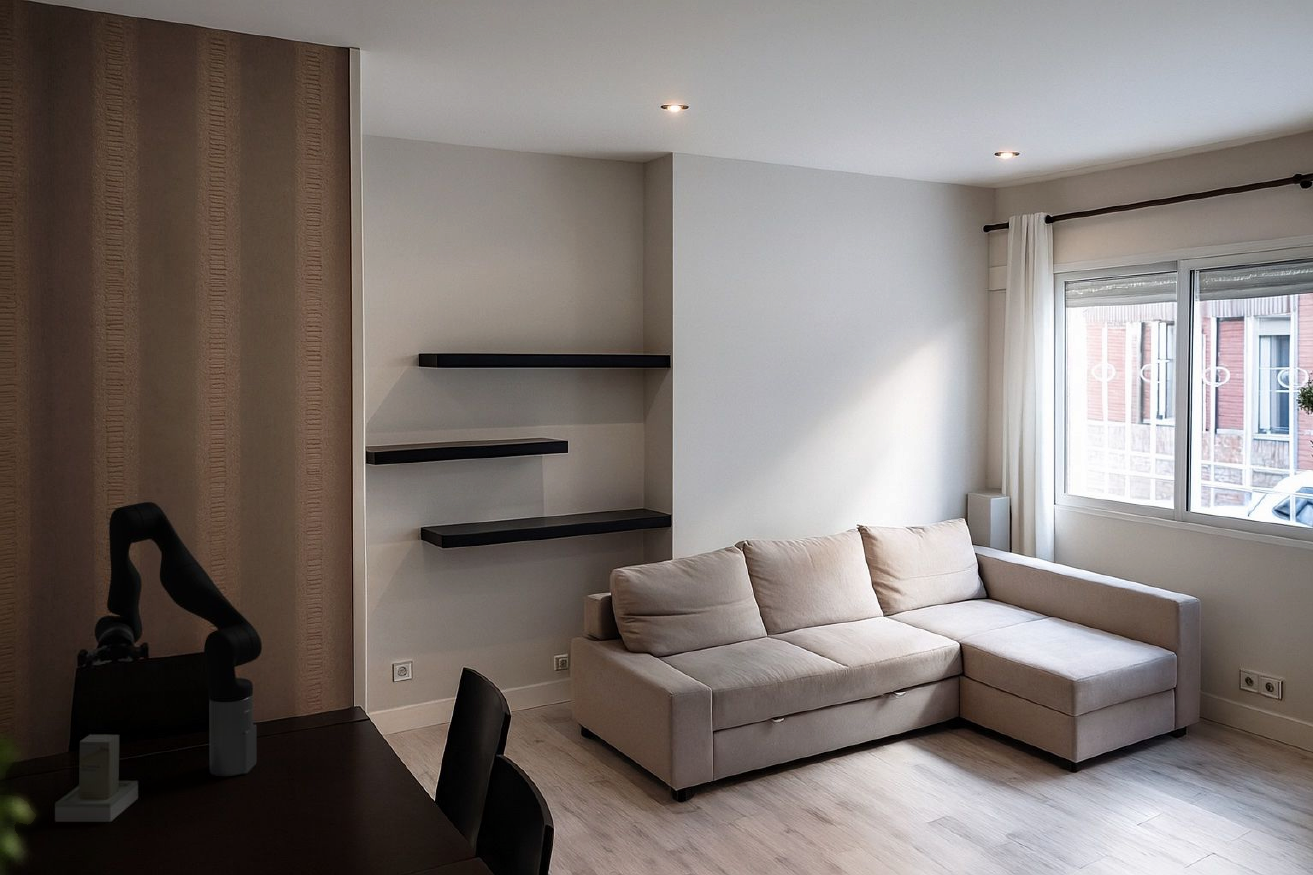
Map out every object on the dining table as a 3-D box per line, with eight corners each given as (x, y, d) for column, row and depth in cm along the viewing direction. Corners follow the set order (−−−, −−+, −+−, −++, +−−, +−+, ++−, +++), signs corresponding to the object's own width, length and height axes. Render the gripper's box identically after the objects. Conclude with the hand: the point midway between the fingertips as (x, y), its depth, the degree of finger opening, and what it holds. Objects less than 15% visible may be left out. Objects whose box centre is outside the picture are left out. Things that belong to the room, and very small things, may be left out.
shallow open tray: (138, 797, 203) (137, 780, 203) (110, 821, 192) (110, 803, 192) (85, 797, 203) (85, 780, 202) (55, 821, 192) (54, 803, 192)
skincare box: (78, 799, 195) (77, 741, 195) (89, 790, 200) (89, 733, 199) (109, 799, 196) (108, 741, 195) (120, 789, 200) (119, 733, 199)
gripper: (80, 633, 223) (74, 649, 208) (149, 626, 229) (148, 641, 215) (81, 664, 223) (75, 683, 209) (150, 656, 229) (149, 674, 215)
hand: (112, 662), depth 212 cm, fingers open, 8 cm apart
